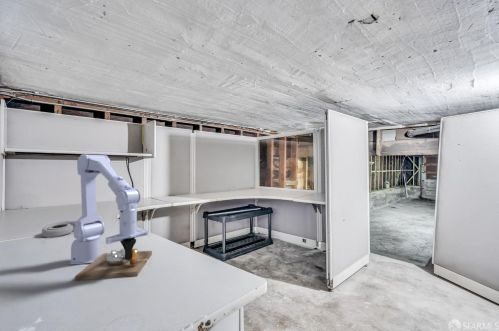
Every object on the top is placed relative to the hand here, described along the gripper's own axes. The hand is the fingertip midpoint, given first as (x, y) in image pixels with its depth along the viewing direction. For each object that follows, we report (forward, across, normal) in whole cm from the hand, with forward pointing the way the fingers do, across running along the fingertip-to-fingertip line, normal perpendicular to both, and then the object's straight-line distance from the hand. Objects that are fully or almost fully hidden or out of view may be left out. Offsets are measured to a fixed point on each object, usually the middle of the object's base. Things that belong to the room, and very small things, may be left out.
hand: (128, 258), depth 89 cm
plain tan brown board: (+5, 0, +9) cm, 10 cm away
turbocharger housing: (+5, -2, +85) cm, 86 cm away
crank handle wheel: (+3, +1, +6) cm, 7 cm away
